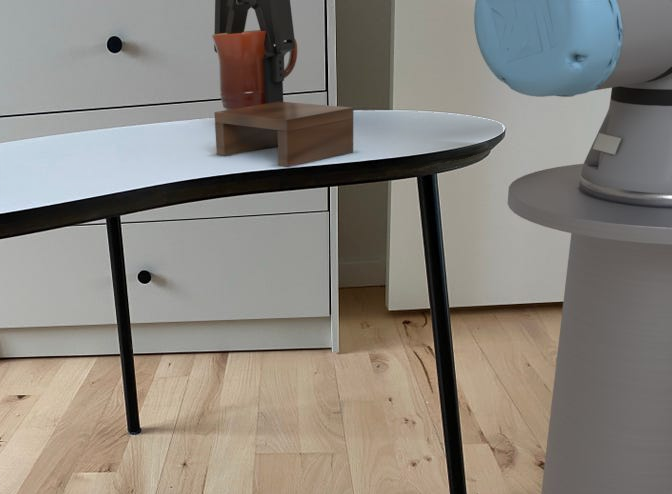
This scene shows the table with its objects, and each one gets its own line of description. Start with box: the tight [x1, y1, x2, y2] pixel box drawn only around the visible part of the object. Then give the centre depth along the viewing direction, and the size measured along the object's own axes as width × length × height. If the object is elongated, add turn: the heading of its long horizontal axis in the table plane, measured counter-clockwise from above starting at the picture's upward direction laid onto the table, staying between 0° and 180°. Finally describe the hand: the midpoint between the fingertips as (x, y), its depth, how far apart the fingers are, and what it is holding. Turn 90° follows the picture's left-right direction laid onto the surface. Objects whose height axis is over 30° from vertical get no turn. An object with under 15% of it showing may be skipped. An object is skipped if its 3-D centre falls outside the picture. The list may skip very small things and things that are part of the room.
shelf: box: [214, 101, 354, 168], centre depth 97 cm, size 13×10×5 cm
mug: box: [211, 29, 298, 110], centre depth 116 cm, size 12×9×10 cm
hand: (255, 105), depth 119 cm, fingers closed on mug, 7 cm apart
